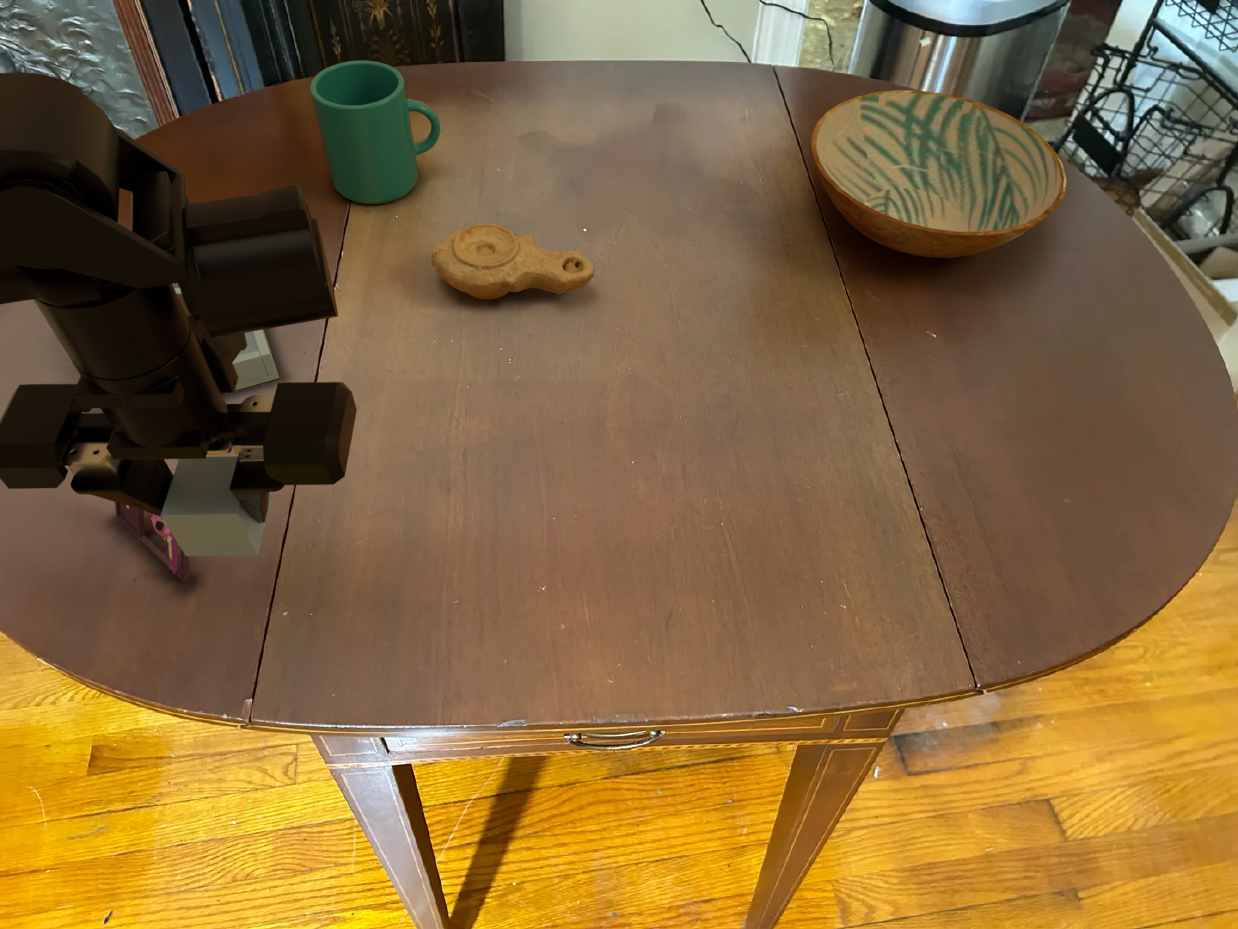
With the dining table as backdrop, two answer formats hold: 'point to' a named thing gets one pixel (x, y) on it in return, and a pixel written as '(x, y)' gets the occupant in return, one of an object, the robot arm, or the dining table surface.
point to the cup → (369, 130)
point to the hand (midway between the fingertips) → (225, 517)
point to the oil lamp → (506, 263)
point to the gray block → (209, 510)
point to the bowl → (935, 172)
